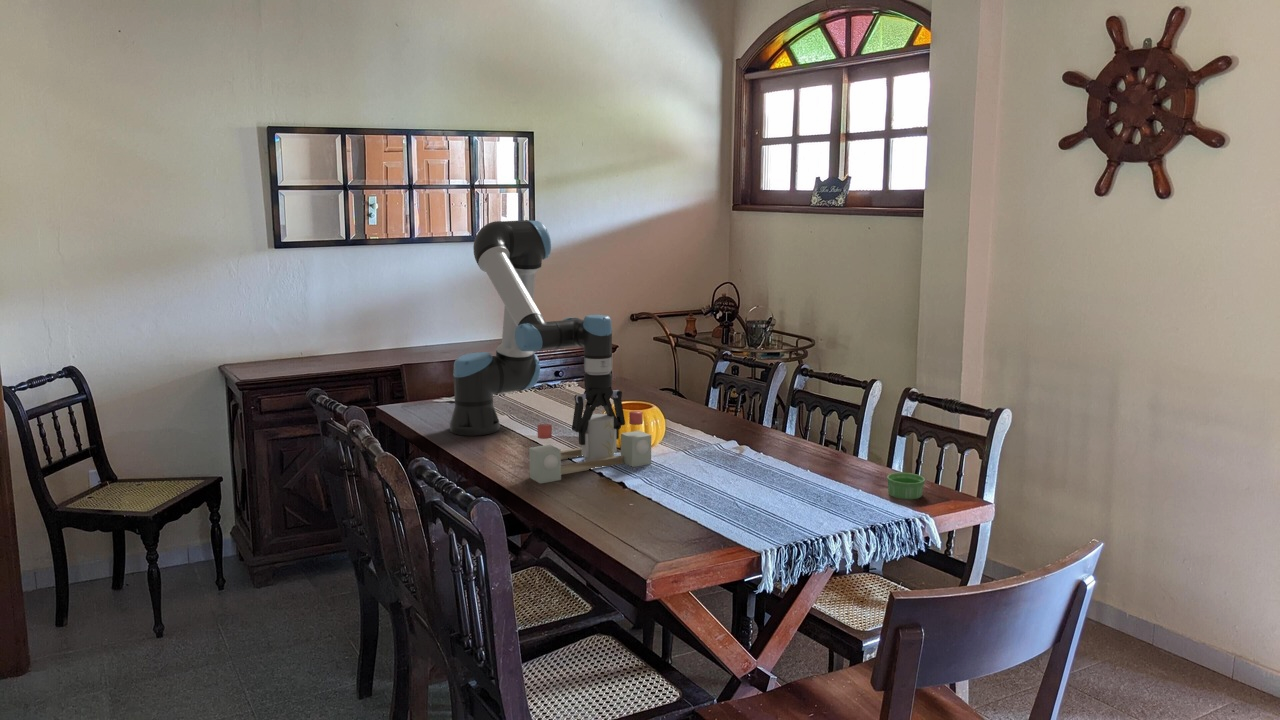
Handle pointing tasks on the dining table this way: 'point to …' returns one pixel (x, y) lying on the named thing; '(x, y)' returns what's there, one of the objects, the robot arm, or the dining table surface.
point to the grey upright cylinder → (600, 437)
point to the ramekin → (905, 485)
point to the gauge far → (635, 417)
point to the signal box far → (636, 448)
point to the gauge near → (544, 431)
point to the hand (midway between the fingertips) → (599, 453)
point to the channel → (586, 462)
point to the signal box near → (545, 463)
